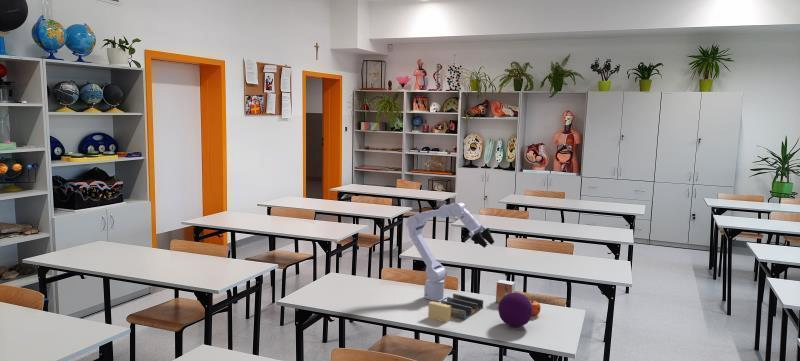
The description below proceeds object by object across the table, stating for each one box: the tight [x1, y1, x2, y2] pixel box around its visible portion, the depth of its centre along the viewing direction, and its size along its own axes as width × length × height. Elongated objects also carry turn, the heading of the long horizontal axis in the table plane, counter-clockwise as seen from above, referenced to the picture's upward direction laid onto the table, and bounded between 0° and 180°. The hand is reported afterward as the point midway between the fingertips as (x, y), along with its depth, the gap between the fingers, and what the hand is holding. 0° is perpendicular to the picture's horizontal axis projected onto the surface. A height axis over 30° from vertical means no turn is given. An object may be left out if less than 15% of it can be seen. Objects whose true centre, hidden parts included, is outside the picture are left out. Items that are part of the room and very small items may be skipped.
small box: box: [495, 279, 516, 304], centre depth 285 cm, size 8×6×10 cm
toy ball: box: [497, 291, 533, 328], centre depth 254 cm, size 15×15×15 cm
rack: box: [440, 293, 484, 321], centre depth 272 cm, size 16×19×4 cm
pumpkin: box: [530, 299, 542, 317], centre depth 269 cm, size 8×8×7 cm
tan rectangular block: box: [427, 300, 452, 323], centre depth 261 cm, size 10×3×7 cm, turn 56°
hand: (489, 244), depth 269 cm, fingers open, 7 cm apart
